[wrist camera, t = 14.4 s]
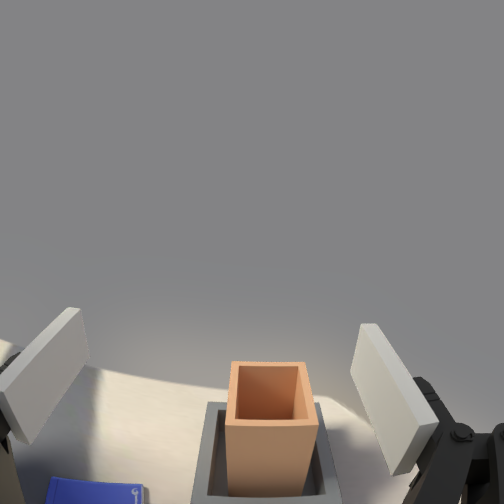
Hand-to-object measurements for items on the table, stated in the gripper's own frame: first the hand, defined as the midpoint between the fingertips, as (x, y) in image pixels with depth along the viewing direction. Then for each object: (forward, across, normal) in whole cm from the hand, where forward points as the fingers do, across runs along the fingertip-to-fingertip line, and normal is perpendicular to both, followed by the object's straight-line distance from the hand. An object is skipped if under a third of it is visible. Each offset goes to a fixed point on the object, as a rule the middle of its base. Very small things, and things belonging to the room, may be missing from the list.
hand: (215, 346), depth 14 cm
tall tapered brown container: (+12, +4, -27) cm, 30 cm away
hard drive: (+3, -15, -29) cm, 33 cm away
